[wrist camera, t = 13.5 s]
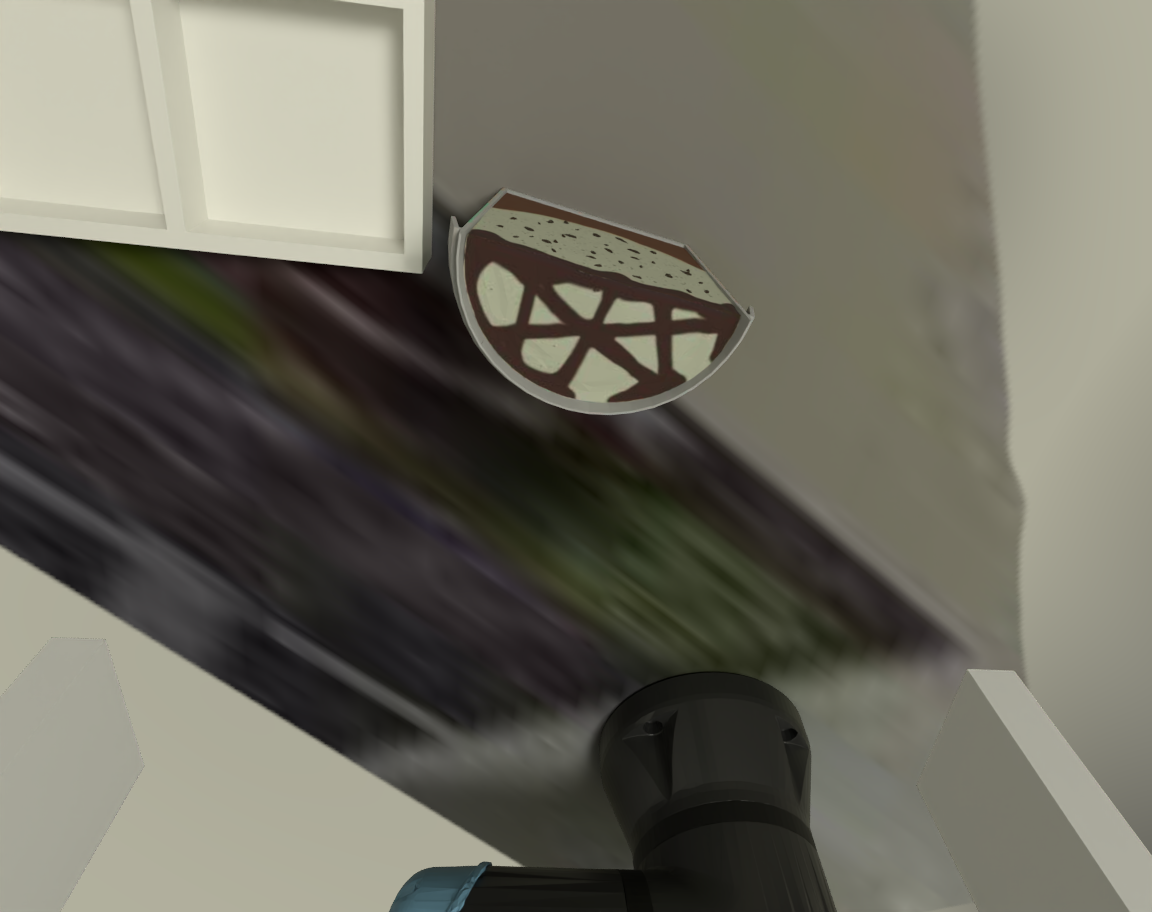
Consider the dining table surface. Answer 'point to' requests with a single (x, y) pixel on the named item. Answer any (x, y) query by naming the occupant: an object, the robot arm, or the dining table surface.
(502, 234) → the food container
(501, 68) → the dining table surface
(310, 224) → the organiser
